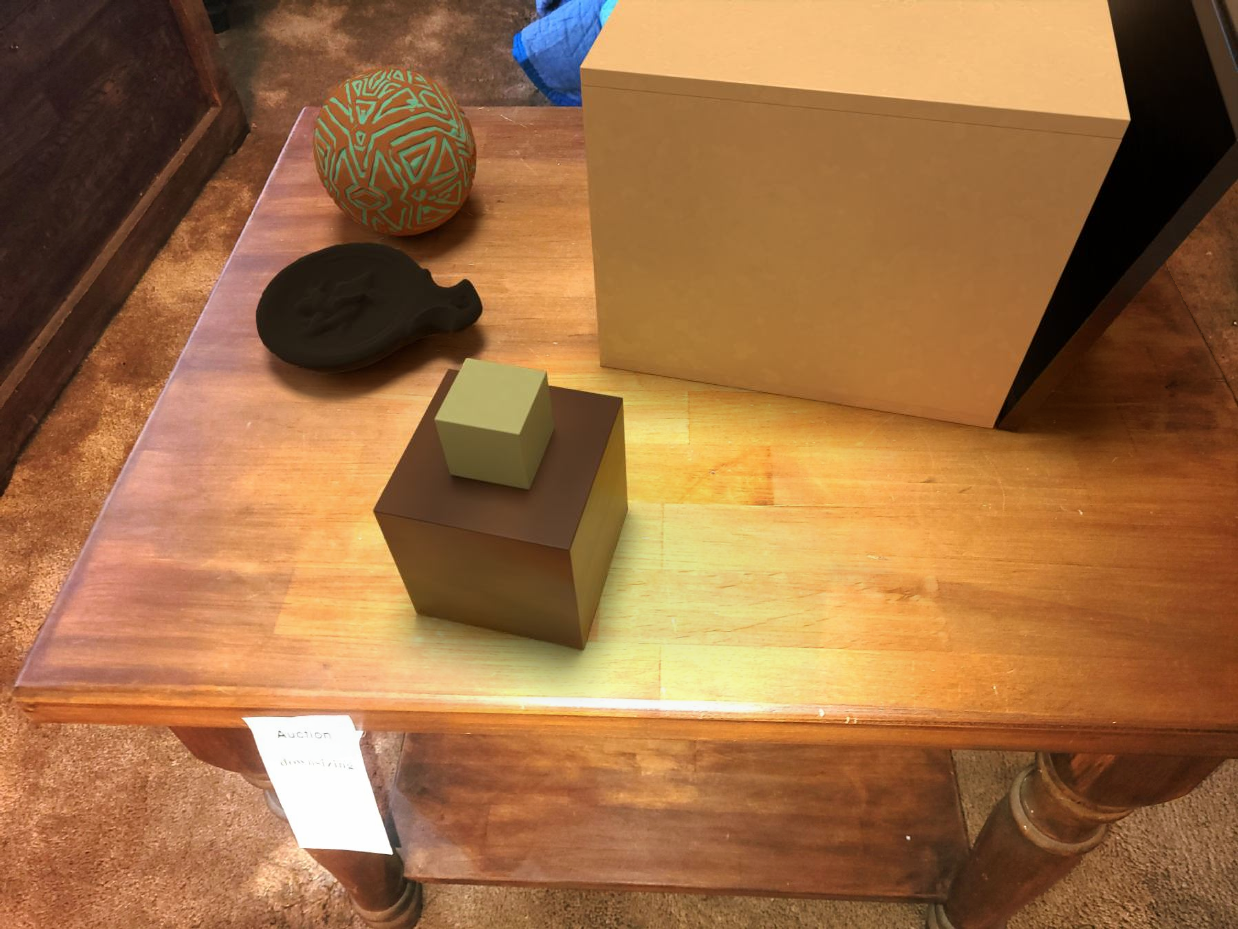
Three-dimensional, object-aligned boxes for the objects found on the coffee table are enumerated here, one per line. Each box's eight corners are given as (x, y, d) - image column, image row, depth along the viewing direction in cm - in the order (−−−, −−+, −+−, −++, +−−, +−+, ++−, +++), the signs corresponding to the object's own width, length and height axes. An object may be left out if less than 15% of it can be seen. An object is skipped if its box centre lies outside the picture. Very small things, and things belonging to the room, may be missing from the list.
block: (554, 427, 54) (547, 370, 51) (529, 490, 51) (519, 434, 48) (479, 414, 55) (465, 357, 51) (450, 475, 52) (433, 419, 48)
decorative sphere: (460, 275, 83) (428, 128, 71) (314, 259, 85) (260, 114, 74) (505, 185, 92) (483, 42, 81) (372, 172, 95) (332, 31, 83)
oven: (990, 152, 93) (1082, -131, 73) (992, 428, 69) (1131, 119, 49) (693, 121, 99) (703, -149, 79) (600, 366, 75) (579, 66, 55)
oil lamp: (467, 408, 72) (456, 364, 68) (243, 391, 74) (220, 348, 70) (505, 290, 81) (497, 246, 78) (304, 279, 83) (287, 235, 80)
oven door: (1062, 171, 93) (1241, -93, 72) (1090, 456, 68) (1371, 180, 48) (993, 150, 93) (1152, -120, 72) (997, 426, 69) (1237, 139, 48)
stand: (628, 508, 65) (623, 397, 56) (583, 650, 58) (569, 550, 49) (476, 479, 67) (448, 367, 58) (416, 613, 60) (371, 510, 51)
